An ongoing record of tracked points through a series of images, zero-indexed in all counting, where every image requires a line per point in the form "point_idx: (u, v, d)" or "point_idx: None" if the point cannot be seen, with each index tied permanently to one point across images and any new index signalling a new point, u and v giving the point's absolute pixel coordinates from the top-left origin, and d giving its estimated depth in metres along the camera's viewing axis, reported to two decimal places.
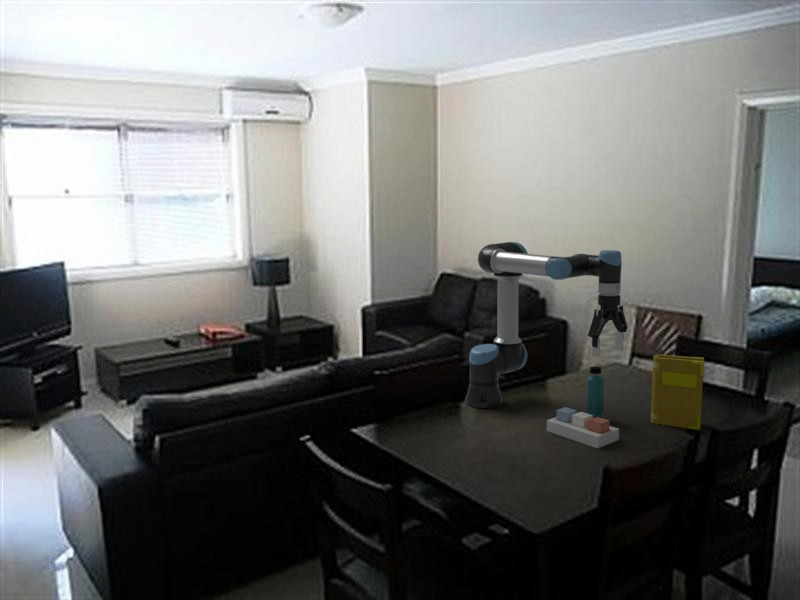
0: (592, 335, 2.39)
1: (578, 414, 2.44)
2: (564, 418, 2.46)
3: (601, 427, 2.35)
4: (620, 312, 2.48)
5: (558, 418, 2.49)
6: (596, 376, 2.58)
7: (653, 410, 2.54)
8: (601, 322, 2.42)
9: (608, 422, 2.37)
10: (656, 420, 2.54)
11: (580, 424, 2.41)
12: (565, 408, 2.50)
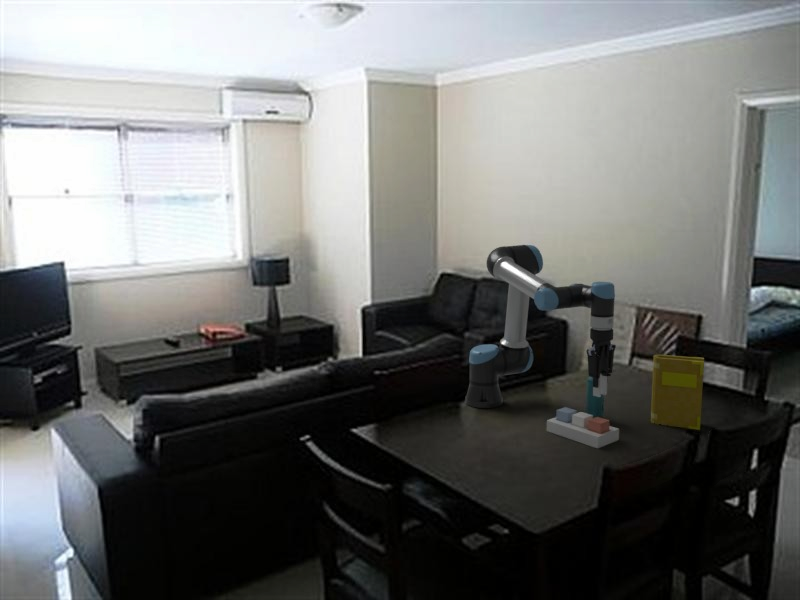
0: (593, 376, 2.31)
1: (578, 414, 2.44)
2: (564, 418, 2.46)
3: (601, 427, 2.35)
4: (611, 350, 2.36)
5: (558, 418, 2.49)
6: None
7: (653, 410, 2.54)
8: (597, 360, 2.32)
9: (608, 422, 2.37)
10: (656, 420, 2.54)
11: (580, 424, 2.41)
12: (565, 408, 2.50)
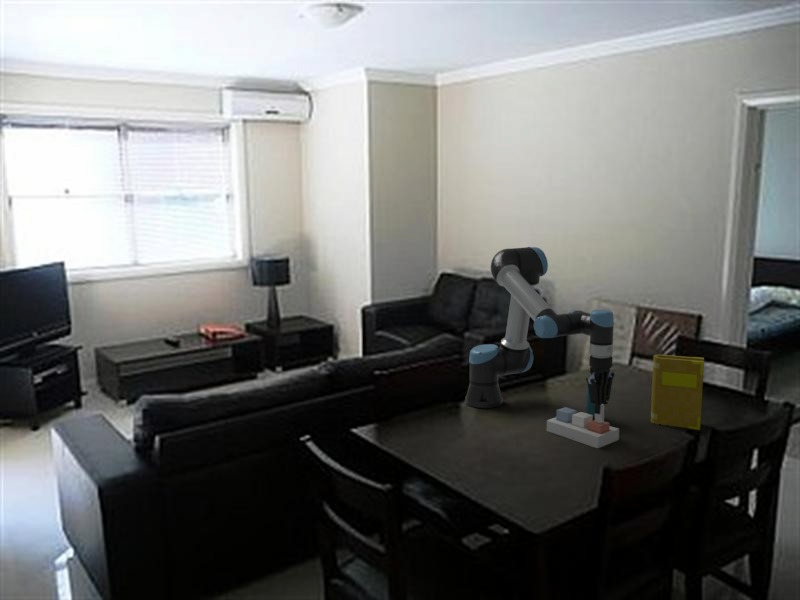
0: (595, 403, 2.34)
1: (578, 414, 2.44)
2: (564, 418, 2.46)
3: (601, 429, 2.35)
4: (609, 378, 2.37)
5: (558, 418, 2.49)
6: None
7: (653, 410, 2.54)
8: (597, 388, 2.34)
9: (608, 424, 2.37)
10: (656, 420, 2.54)
11: (580, 424, 2.41)
12: (565, 408, 2.50)
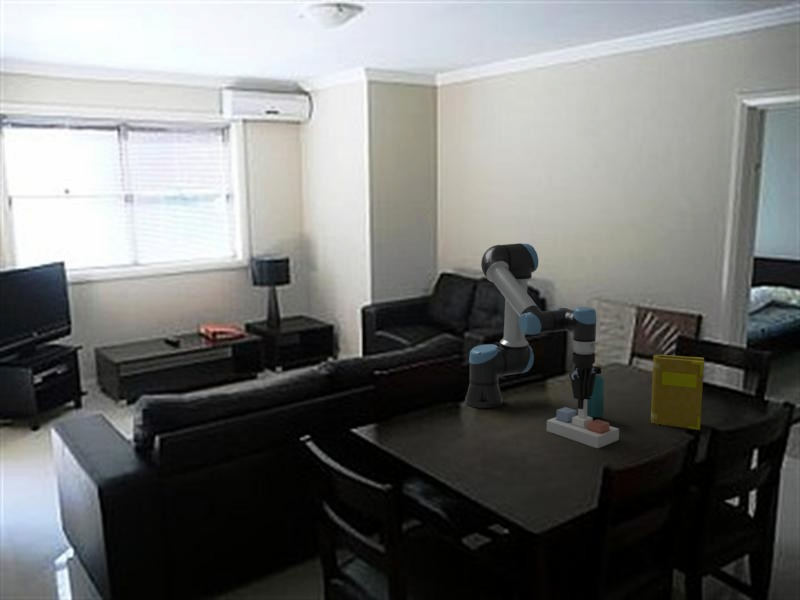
0: (578, 398, 2.39)
1: (578, 417, 2.44)
2: (564, 418, 2.46)
3: (601, 429, 2.35)
4: (592, 374, 2.43)
5: (558, 418, 2.49)
6: (596, 376, 2.58)
7: (653, 410, 2.54)
8: (580, 383, 2.40)
9: (608, 425, 2.37)
10: (656, 420, 2.54)
11: (580, 426, 2.41)
12: (565, 408, 2.50)
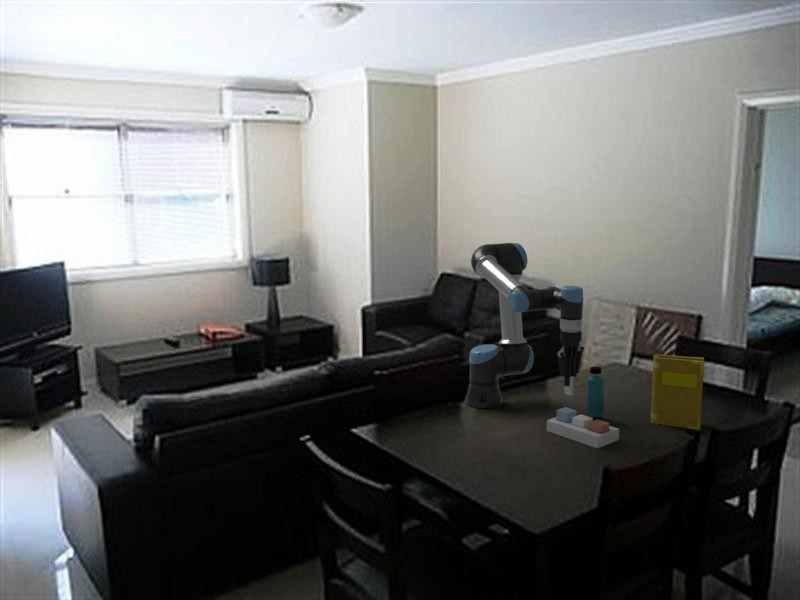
0: (564, 376, 2.43)
1: (578, 417, 2.44)
2: (564, 418, 2.46)
3: (601, 429, 2.35)
4: (579, 352, 2.46)
5: (558, 418, 2.49)
6: (596, 376, 2.58)
7: (653, 410, 2.54)
8: (567, 361, 2.43)
9: (608, 425, 2.37)
10: (656, 420, 2.54)
11: (580, 427, 2.41)
12: (565, 408, 2.50)
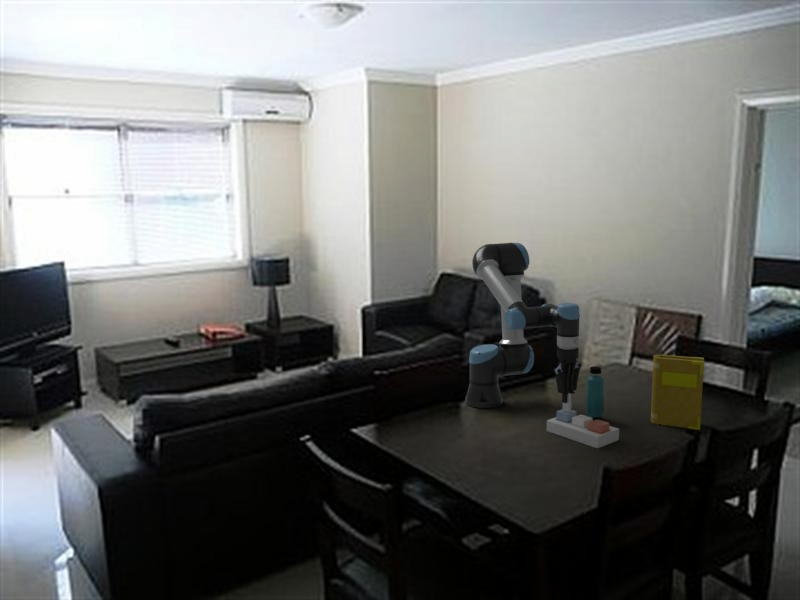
0: (562, 392, 2.44)
1: (578, 417, 2.44)
2: (564, 419, 2.46)
3: (601, 429, 2.35)
4: (576, 369, 2.48)
5: (558, 419, 2.49)
6: (596, 376, 2.58)
7: (653, 410, 2.54)
8: (564, 378, 2.45)
9: (608, 425, 2.37)
10: (656, 420, 2.54)
11: (580, 427, 2.41)
12: None
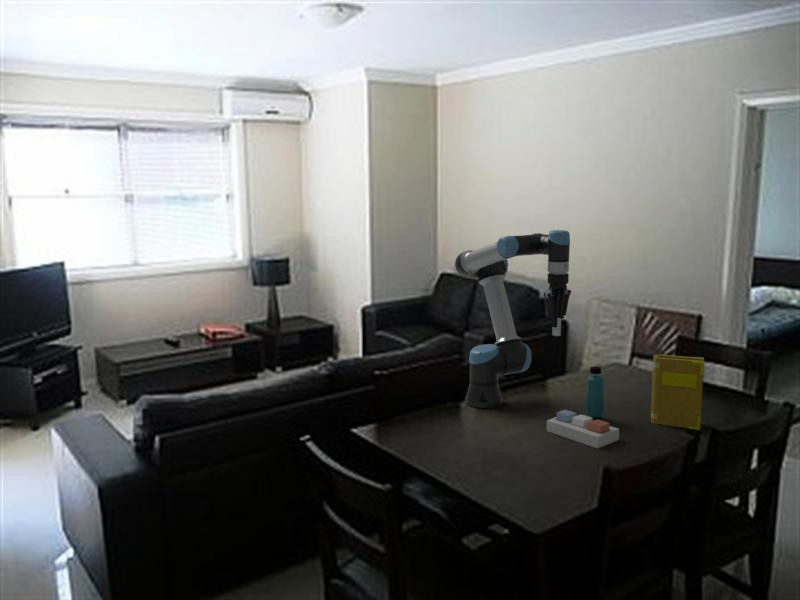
0: (552, 317, 2.53)
1: (578, 417, 2.44)
2: (564, 421, 2.47)
3: (601, 429, 2.35)
4: (566, 295, 2.56)
5: None
6: (596, 376, 2.58)
7: (653, 410, 2.54)
8: (554, 302, 2.53)
9: (608, 425, 2.37)
10: (656, 420, 2.54)
11: (580, 427, 2.41)
12: (565, 411, 2.51)
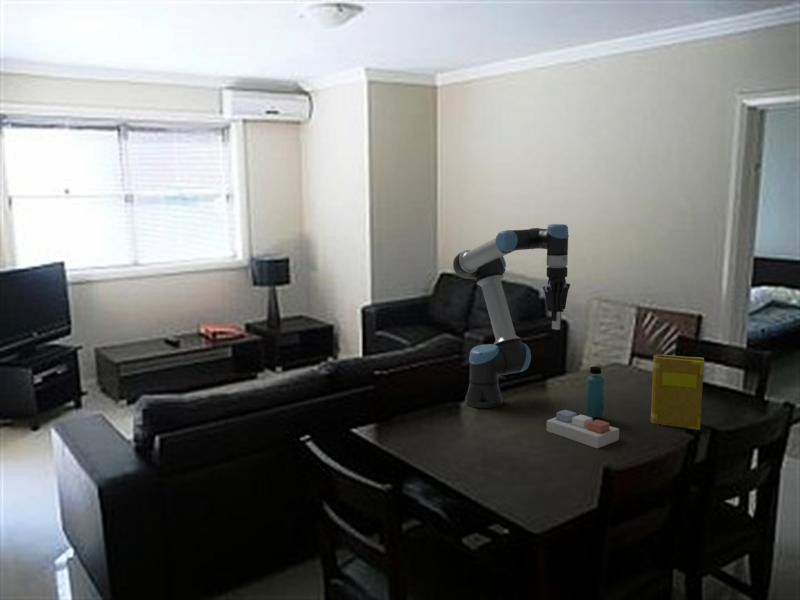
0: (551, 310, 2.54)
1: (578, 417, 2.44)
2: (564, 421, 2.47)
3: (601, 429, 2.35)
4: (565, 288, 2.58)
5: None
6: (596, 376, 2.58)
7: (653, 410, 2.54)
8: (554, 296, 2.55)
9: (608, 425, 2.37)
10: (656, 420, 2.54)
11: (580, 427, 2.41)
12: (565, 411, 2.51)
